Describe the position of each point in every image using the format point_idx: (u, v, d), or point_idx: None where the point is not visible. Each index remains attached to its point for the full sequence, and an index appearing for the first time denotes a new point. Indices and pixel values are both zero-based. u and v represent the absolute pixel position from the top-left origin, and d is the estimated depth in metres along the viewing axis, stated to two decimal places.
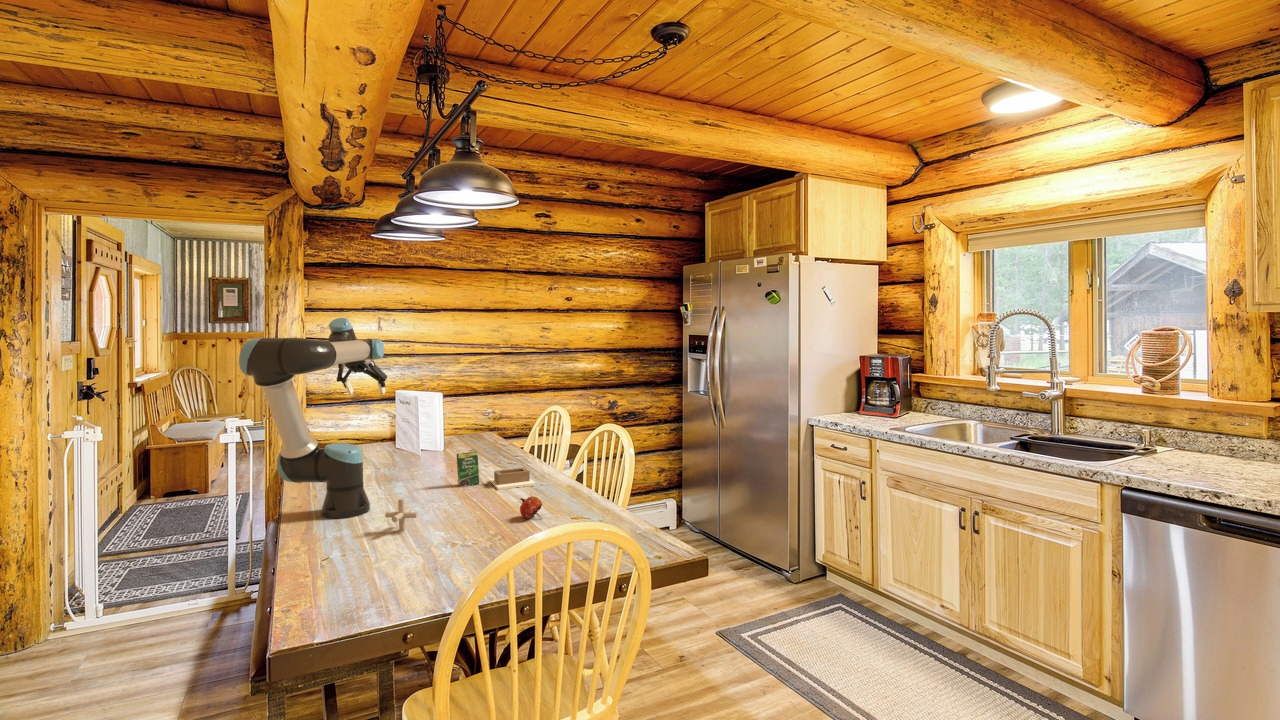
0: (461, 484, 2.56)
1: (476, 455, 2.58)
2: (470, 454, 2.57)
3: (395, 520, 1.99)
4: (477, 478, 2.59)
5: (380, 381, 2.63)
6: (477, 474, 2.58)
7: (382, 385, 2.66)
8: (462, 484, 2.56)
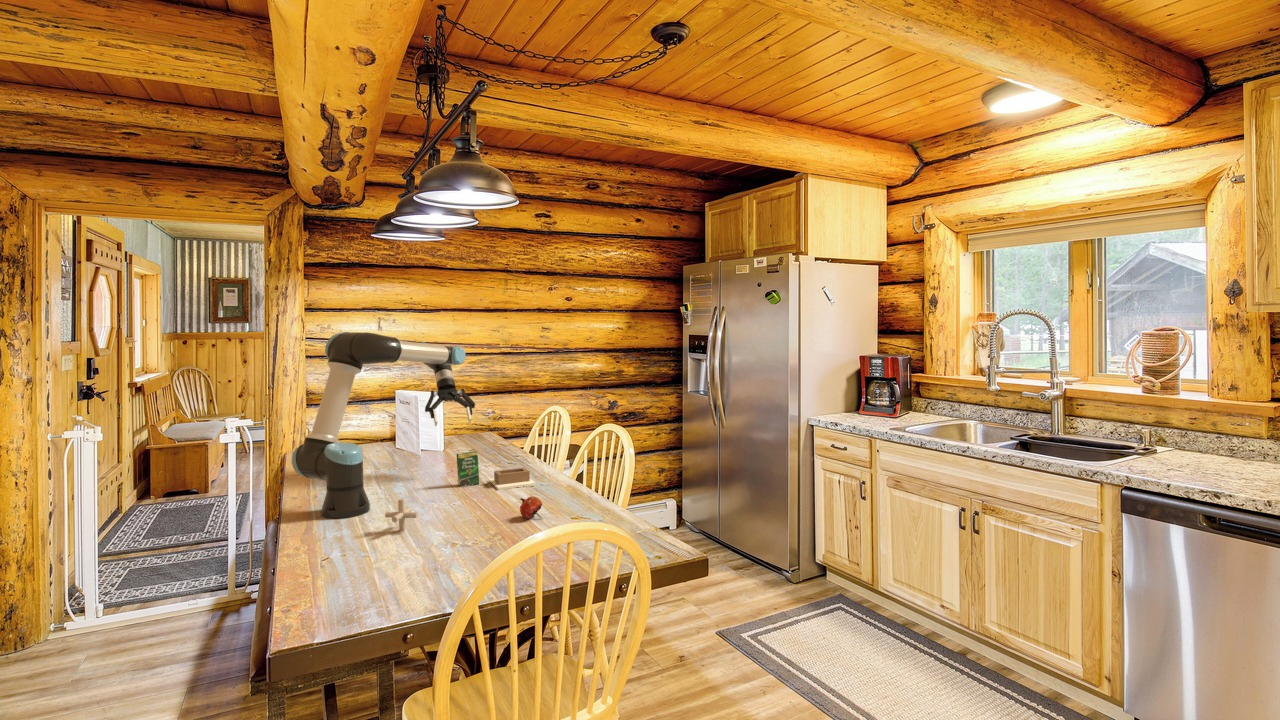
0: (461, 484, 2.56)
1: (476, 455, 2.58)
2: (470, 454, 2.57)
3: (395, 520, 1.99)
4: (477, 478, 2.59)
5: (470, 404, 2.73)
6: (477, 474, 2.58)
7: (470, 411, 2.71)
8: (462, 484, 2.56)
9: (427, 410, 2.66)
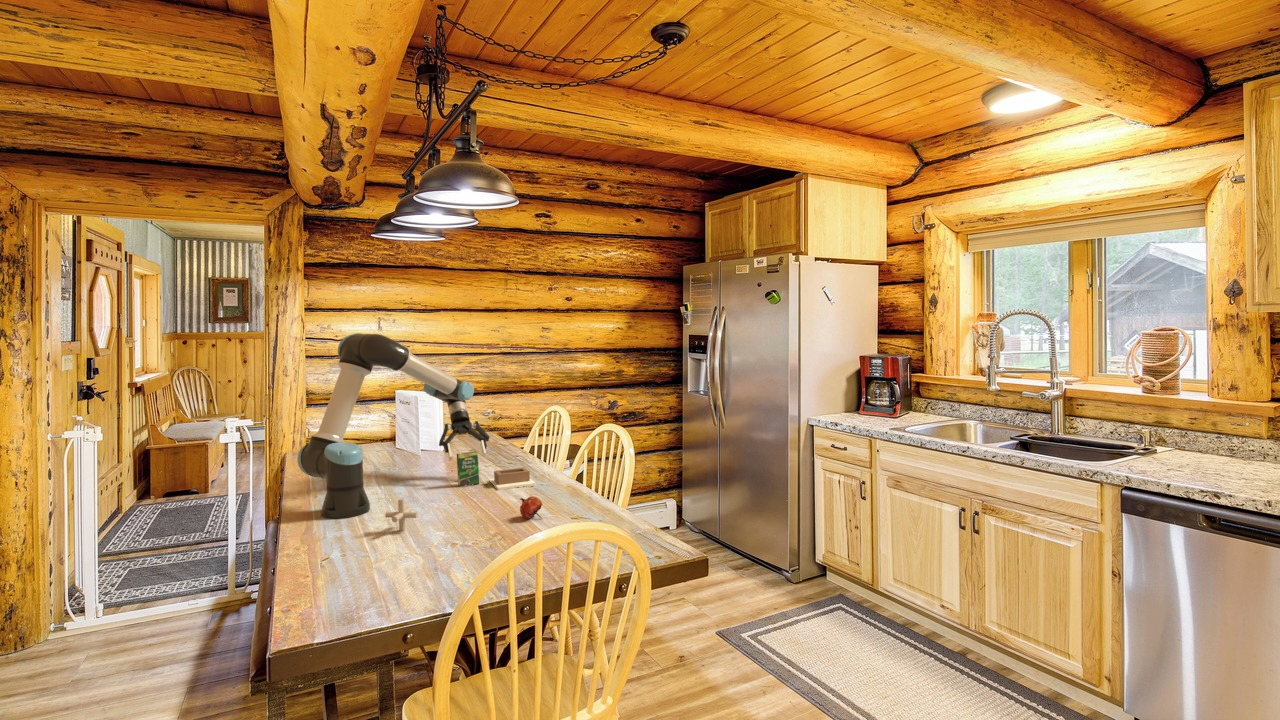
0: (461, 484, 2.56)
1: (476, 455, 2.58)
2: (470, 454, 2.57)
3: (395, 520, 1.99)
4: (477, 478, 2.59)
5: (484, 437, 2.69)
6: (477, 474, 2.58)
7: (485, 444, 2.68)
8: (462, 484, 2.56)
9: (441, 444, 2.62)
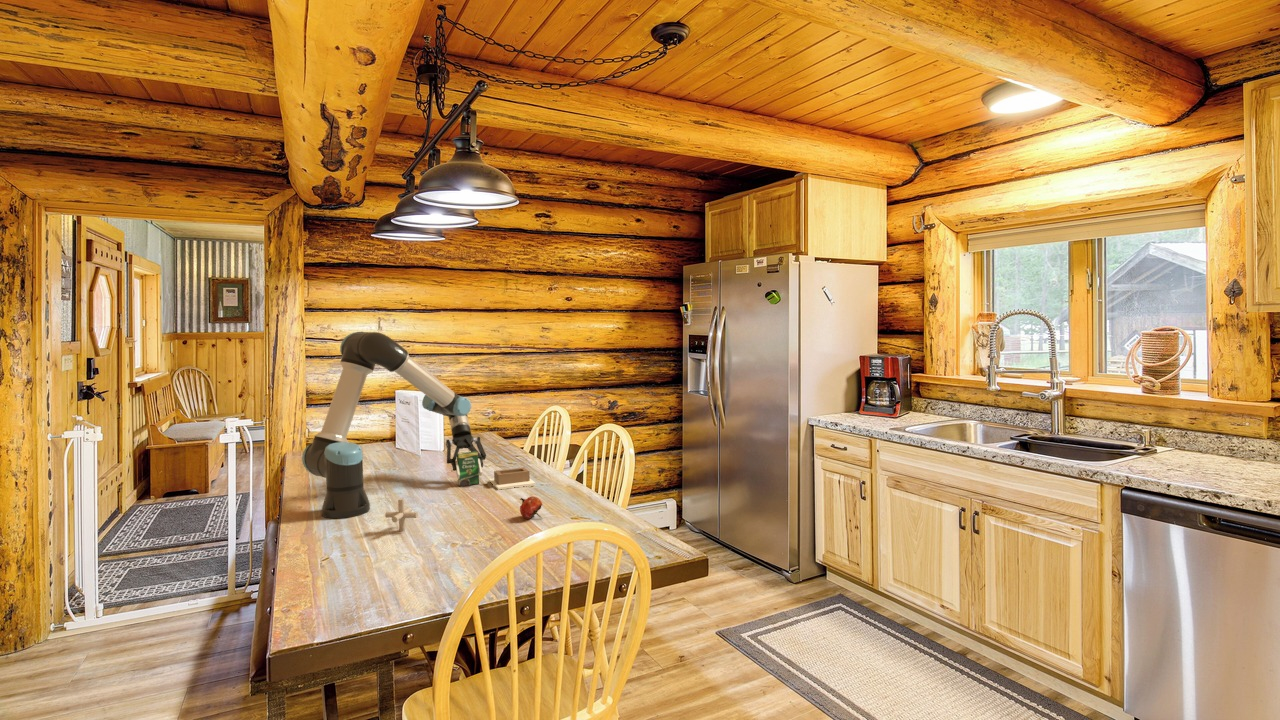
0: (461, 484, 2.56)
1: (476, 455, 2.58)
2: (470, 454, 2.57)
3: (395, 520, 1.99)
4: (477, 478, 2.59)
5: (481, 455, 2.61)
6: (477, 474, 2.58)
7: (481, 463, 2.59)
8: (462, 484, 2.56)
9: (449, 462, 2.56)
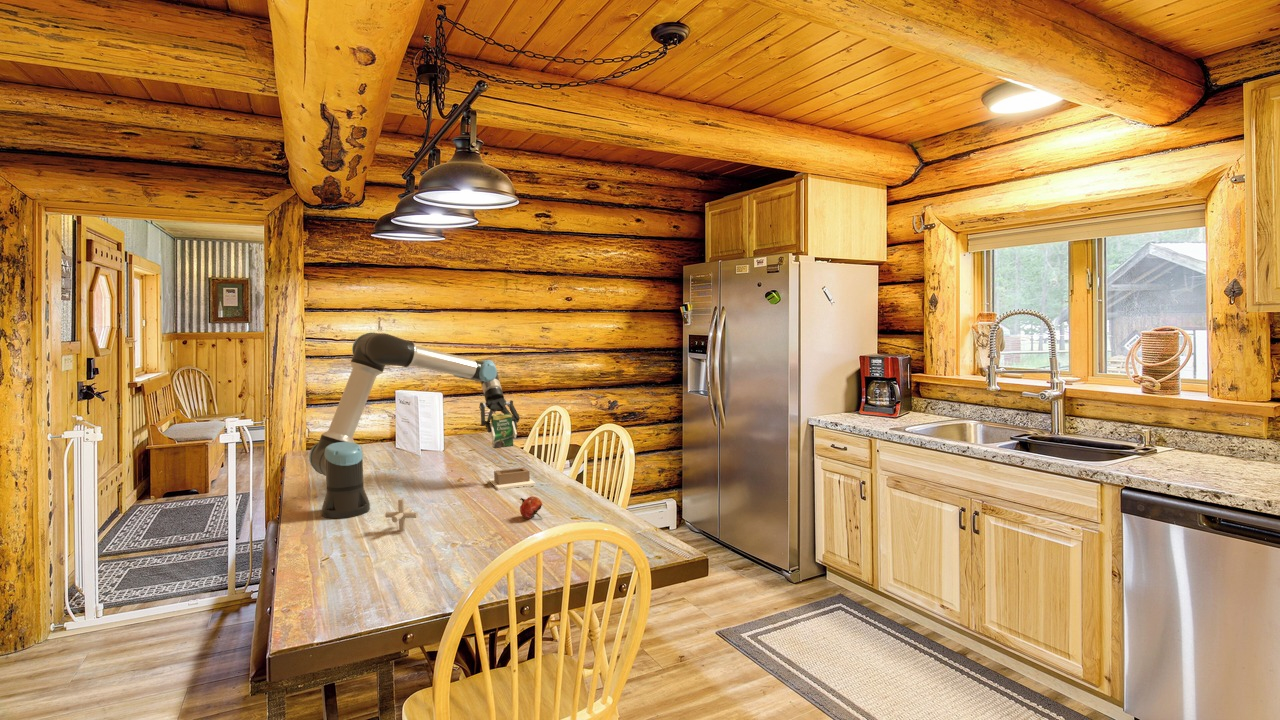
0: (496, 446, 2.57)
1: (510, 417, 2.59)
2: (504, 416, 2.58)
3: (395, 520, 1.99)
4: (511, 440, 2.60)
5: (515, 418, 2.62)
6: (511, 436, 2.60)
7: (515, 425, 2.61)
8: (497, 446, 2.57)
9: (484, 424, 2.57)
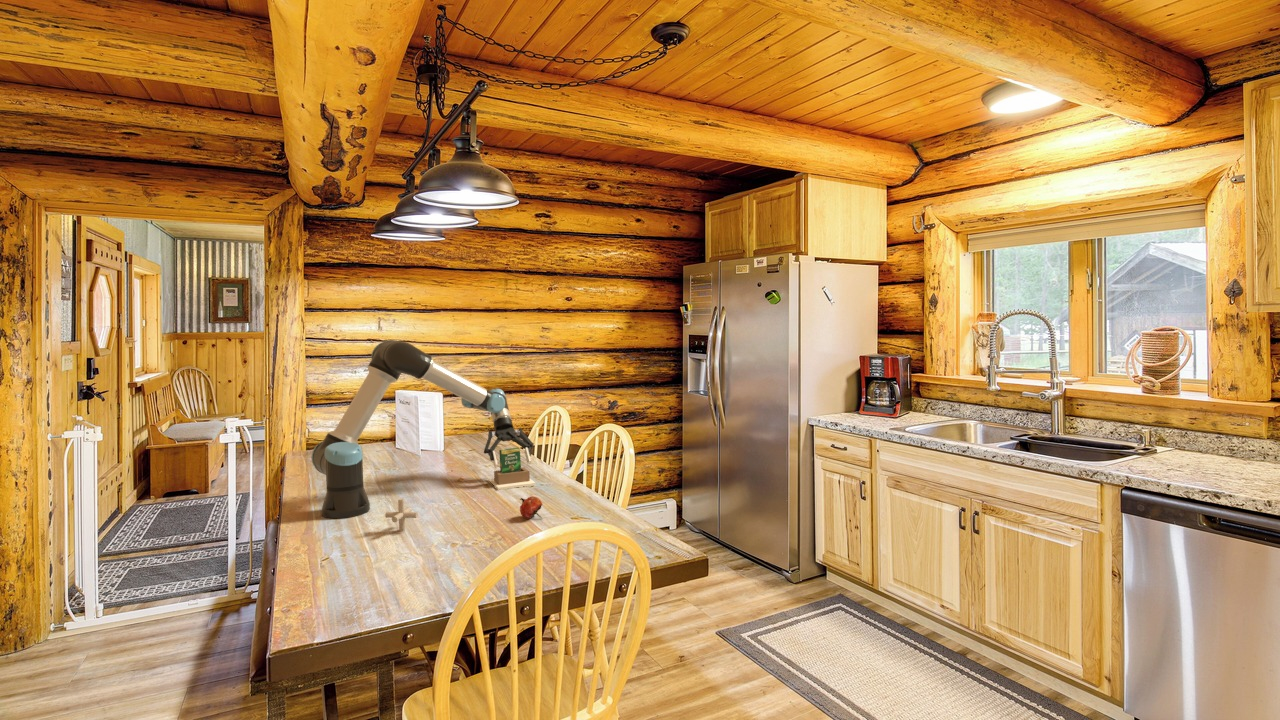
0: None
1: (518, 451, 2.59)
2: (513, 450, 2.58)
3: (395, 520, 1.99)
4: None
5: (529, 444, 2.64)
6: (519, 470, 2.60)
7: (529, 452, 2.63)
8: None
9: (486, 452, 2.57)
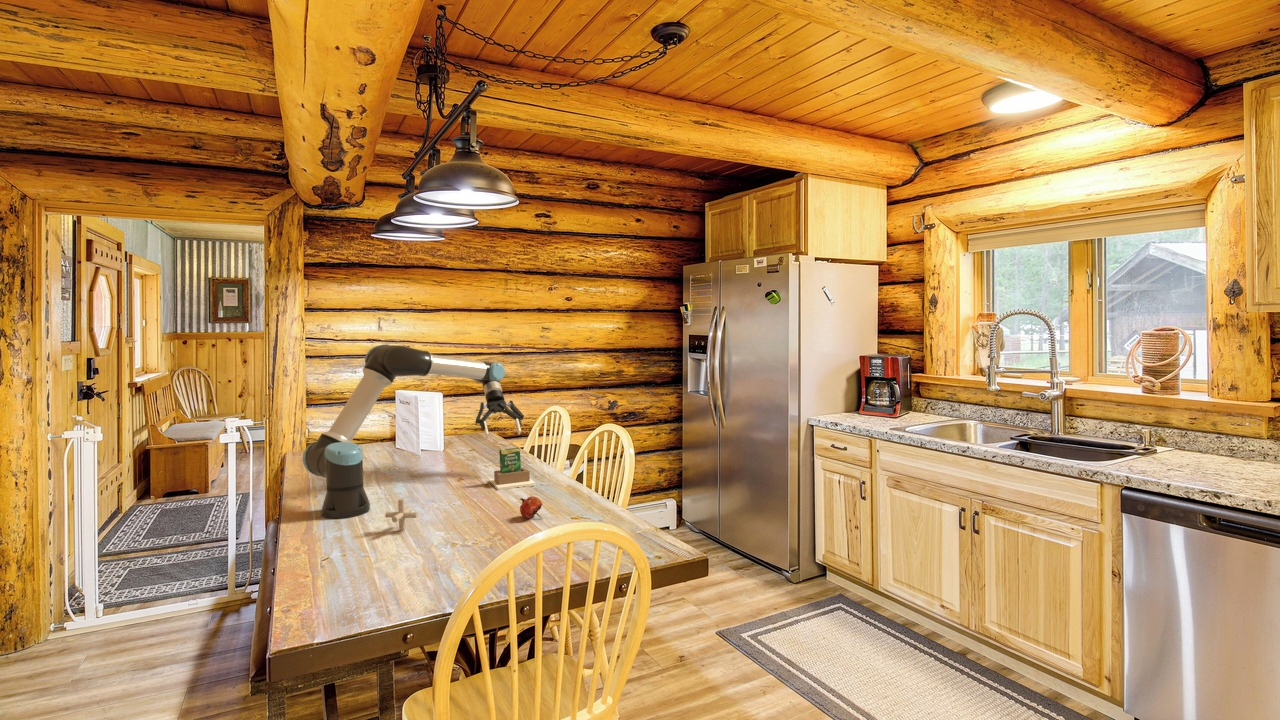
0: None
1: (518, 451, 2.59)
2: (513, 450, 2.58)
3: (395, 520, 1.99)
4: None
5: (519, 415, 2.75)
6: (519, 470, 2.60)
7: (519, 423, 2.74)
8: None
9: (478, 422, 2.68)
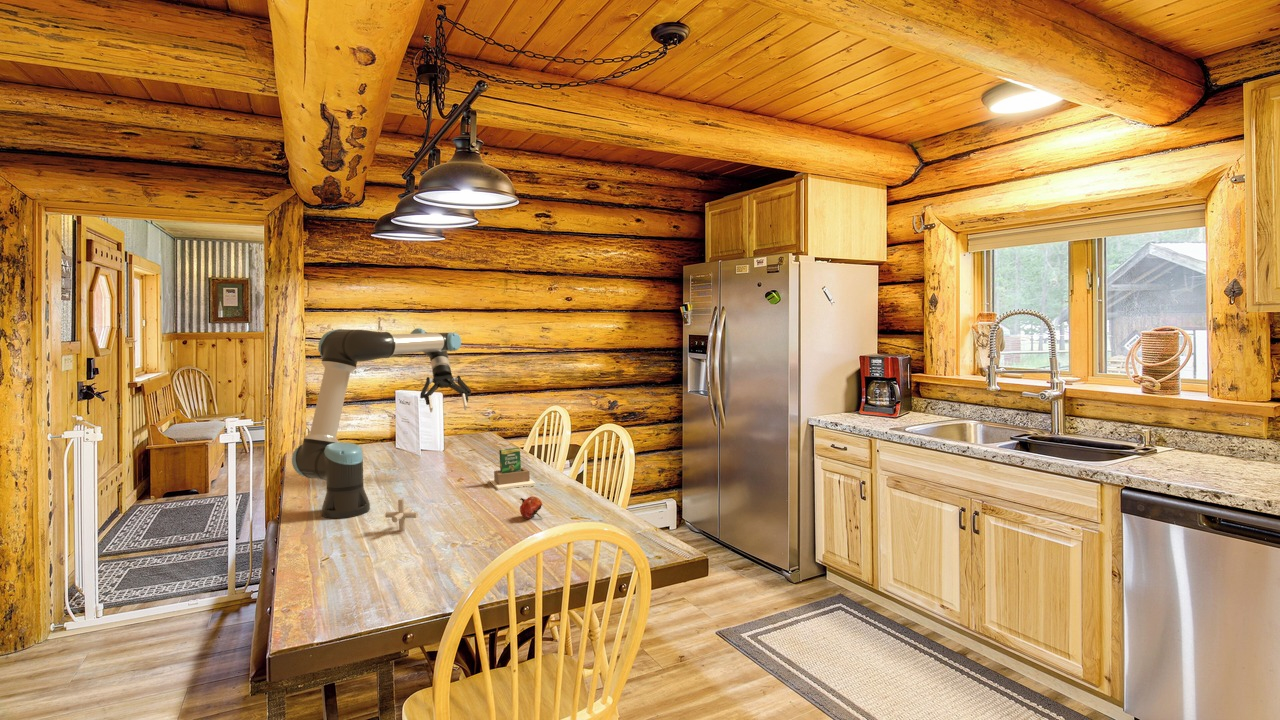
0: None
1: (518, 451, 2.59)
2: (513, 450, 2.58)
3: (395, 520, 1.99)
4: None
5: (466, 391, 2.70)
6: (519, 470, 2.60)
7: (466, 398, 2.68)
8: None
9: (422, 396, 2.63)
